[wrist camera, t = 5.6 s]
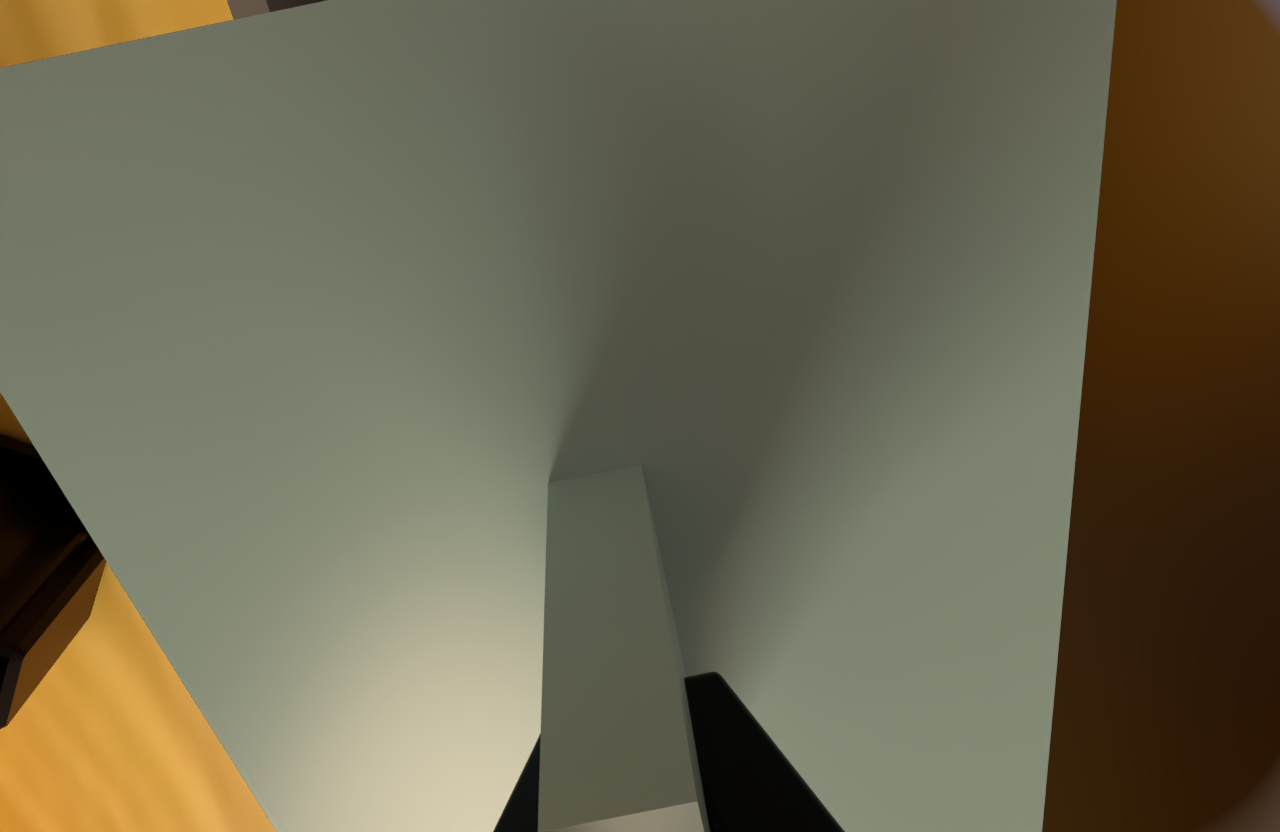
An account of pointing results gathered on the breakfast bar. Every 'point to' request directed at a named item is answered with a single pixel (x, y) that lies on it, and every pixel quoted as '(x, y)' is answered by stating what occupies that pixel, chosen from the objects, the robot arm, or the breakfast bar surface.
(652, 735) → the lid
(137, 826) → the breakfast bar surface
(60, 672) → the breakfast bar surface
